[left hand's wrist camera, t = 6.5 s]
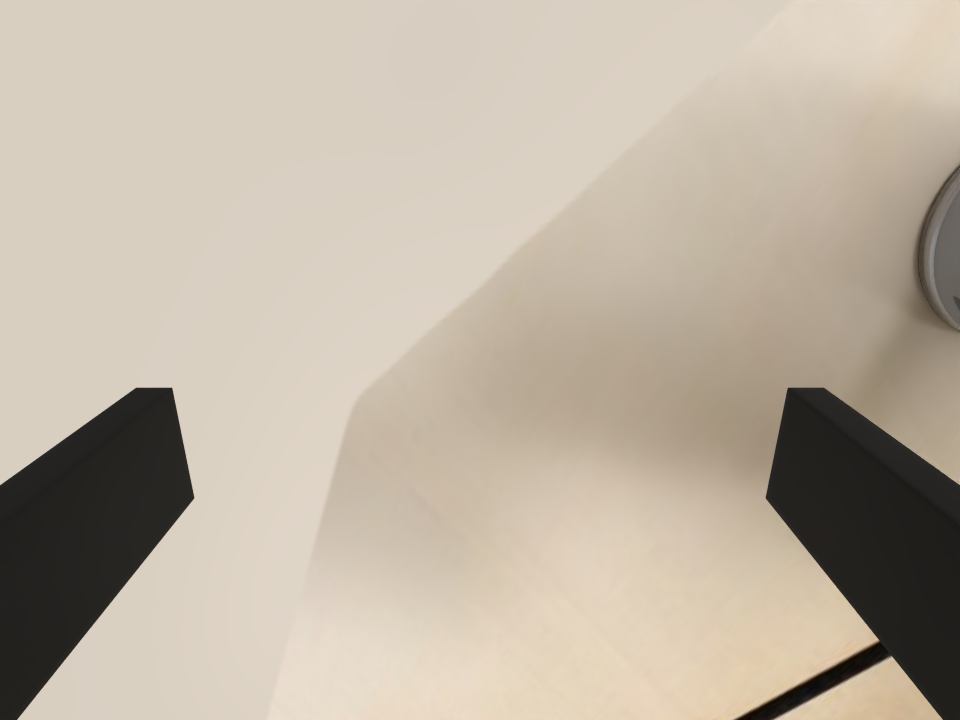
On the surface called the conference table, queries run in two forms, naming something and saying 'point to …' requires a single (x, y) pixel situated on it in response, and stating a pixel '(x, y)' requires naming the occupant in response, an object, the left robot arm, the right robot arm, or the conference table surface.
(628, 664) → the conference table surface
